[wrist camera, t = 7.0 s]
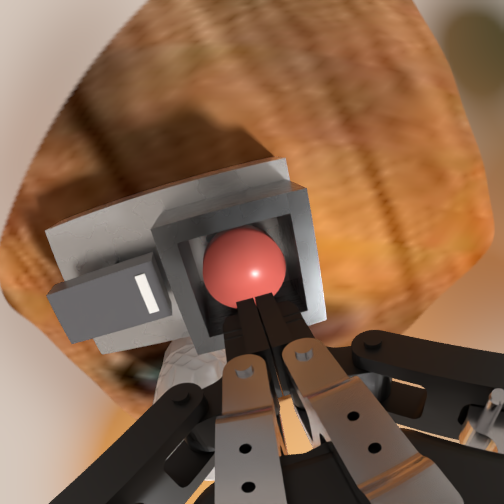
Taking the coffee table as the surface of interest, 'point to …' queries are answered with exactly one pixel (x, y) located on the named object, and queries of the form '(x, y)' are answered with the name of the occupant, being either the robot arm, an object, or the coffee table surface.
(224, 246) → the button
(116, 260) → the grey switch box
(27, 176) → the coffee table surface
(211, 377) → the white cup
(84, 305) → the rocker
